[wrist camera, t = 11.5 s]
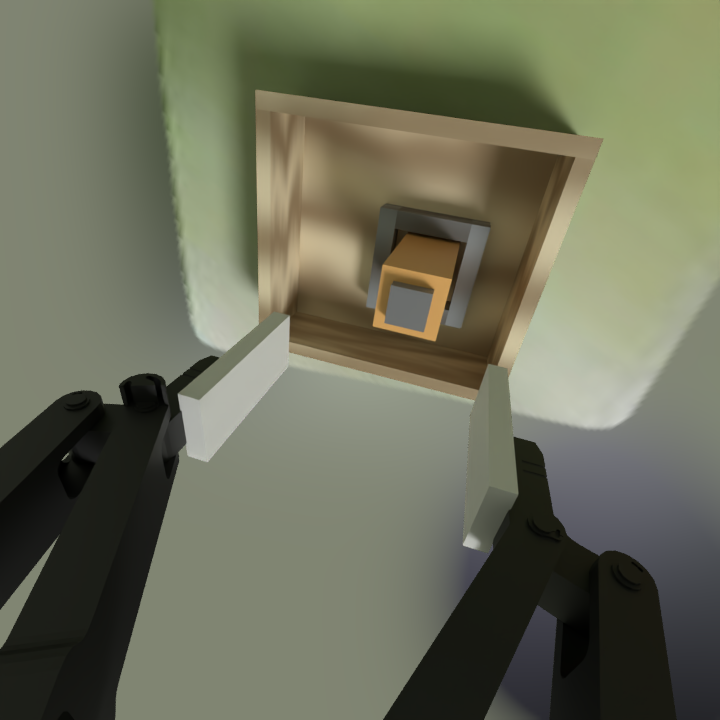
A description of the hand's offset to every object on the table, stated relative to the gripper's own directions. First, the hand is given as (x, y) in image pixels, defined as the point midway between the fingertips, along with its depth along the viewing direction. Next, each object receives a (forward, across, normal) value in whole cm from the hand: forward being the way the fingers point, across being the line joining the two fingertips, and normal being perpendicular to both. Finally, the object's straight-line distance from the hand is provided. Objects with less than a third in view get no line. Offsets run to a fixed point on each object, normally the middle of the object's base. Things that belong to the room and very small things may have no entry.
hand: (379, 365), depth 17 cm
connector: (+17, 0, 0) cm, 17 cm away
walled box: (+18, -2, +1) cm, 18 cm away
